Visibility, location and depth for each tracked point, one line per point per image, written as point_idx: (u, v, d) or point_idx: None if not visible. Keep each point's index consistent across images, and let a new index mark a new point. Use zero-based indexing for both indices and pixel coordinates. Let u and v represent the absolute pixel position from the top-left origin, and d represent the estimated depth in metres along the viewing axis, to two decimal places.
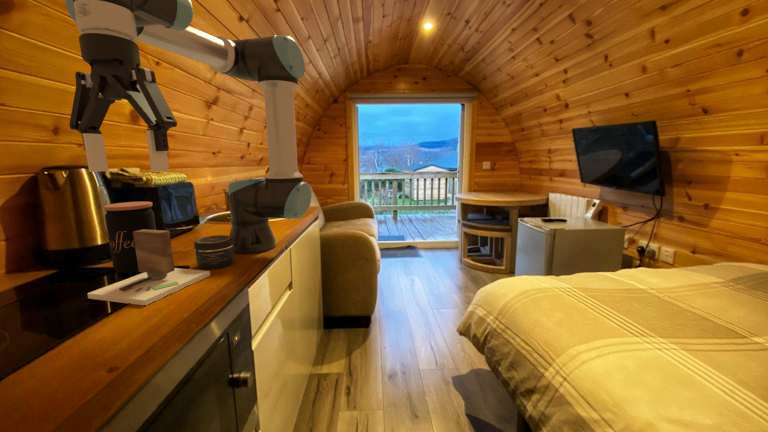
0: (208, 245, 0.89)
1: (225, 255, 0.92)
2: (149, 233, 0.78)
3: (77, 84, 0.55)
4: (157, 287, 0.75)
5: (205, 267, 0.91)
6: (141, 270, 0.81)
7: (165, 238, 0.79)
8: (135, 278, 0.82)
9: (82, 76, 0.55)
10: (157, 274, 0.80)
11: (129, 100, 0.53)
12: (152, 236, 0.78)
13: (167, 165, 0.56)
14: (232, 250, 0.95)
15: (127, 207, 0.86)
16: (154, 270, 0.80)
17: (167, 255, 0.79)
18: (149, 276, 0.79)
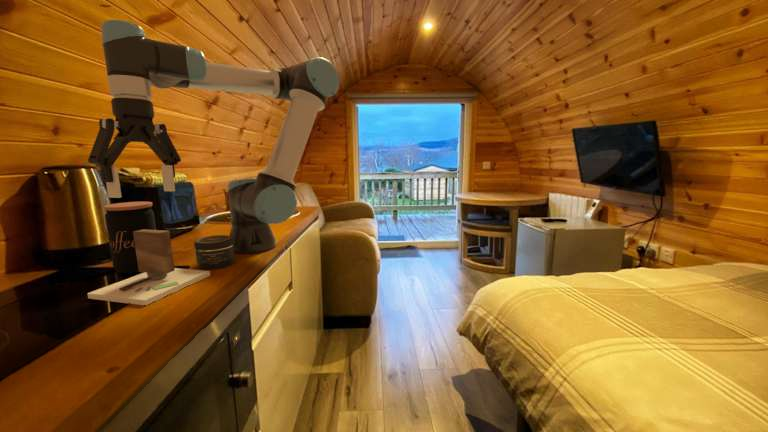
0: (209, 245, 0.89)
1: (225, 255, 0.92)
2: (149, 233, 0.78)
3: None
4: (157, 287, 0.75)
5: (205, 267, 0.91)
6: (141, 270, 0.81)
7: (165, 238, 0.79)
8: (135, 278, 0.82)
9: None
10: (157, 274, 0.80)
11: None
12: (152, 236, 0.78)
13: (116, 193, 0.70)
14: (232, 250, 0.95)
15: (127, 207, 0.86)
16: (154, 270, 0.80)
17: (167, 255, 0.79)
18: (149, 276, 0.79)
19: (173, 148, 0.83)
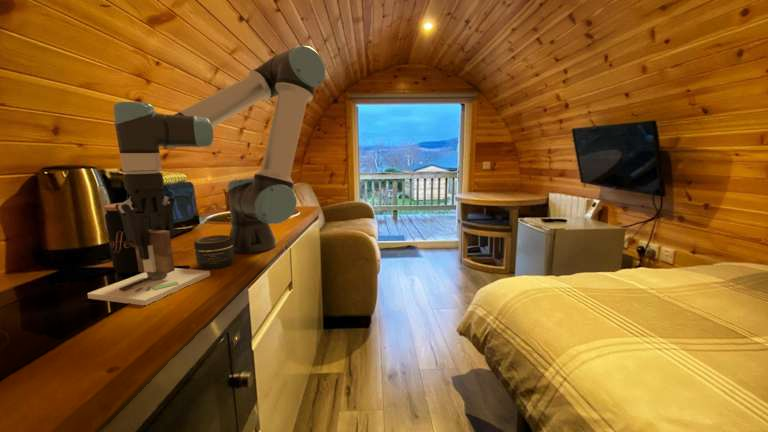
0: (209, 245, 0.89)
1: (225, 255, 0.92)
2: (149, 233, 0.78)
3: None
4: (157, 287, 0.75)
5: (205, 267, 0.91)
6: (141, 270, 0.81)
7: (165, 238, 0.79)
8: (135, 278, 0.82)
9: None
10: (157, 274, 0.80)
11: None
12: (152, 236, 0.78)
13: (152, 268, 0.79)
14: (232, 250, 0.95)
15: None
16: None
17: (167, 255, 0.79)
18: (149, 276, 0.79)
19: (171, 221, 0.84)
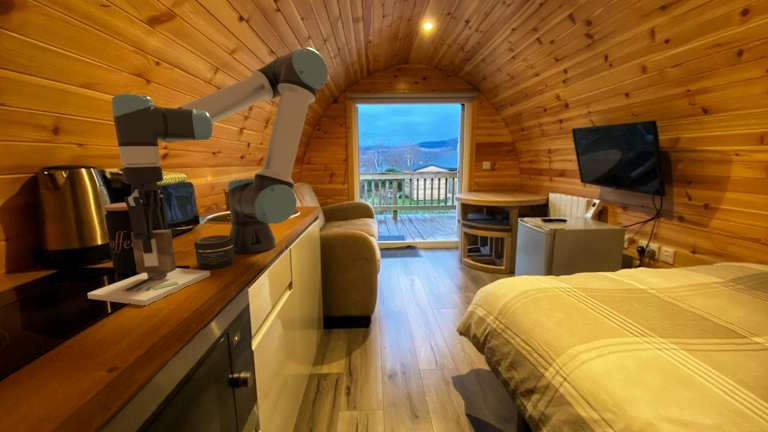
0: (209, 245, 0.89)
1: (225, 255, 0.92)
2: None
3: None
4: (157, 287, 0.75)
5: (205, 267, 0.91)
6: (140, 271, 0.80)
7: (168, 237, 0.80)
8: (135, 278, 0.82)
9: None
10: (159, 274, 0.80)
11: None
12: (155, 236, 0.78)
13: (156, 261, 0.79)
14: (232, 250, 0.95)
15: (127, 207, 0.86)
16: (156, 270, 0.80)
17: (170, 254, 0.80)
18: (150, 276, 0.79)
19: (165, 215, 0.84)
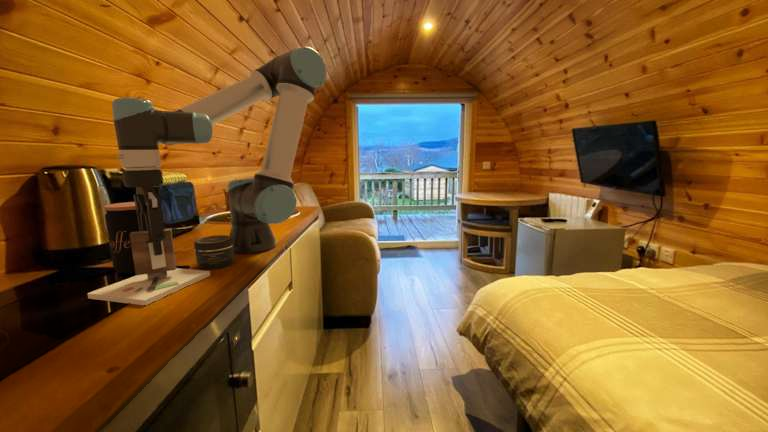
0: (208, 245, 0.89)
1: (225, 255, 0.92)
2: None
3: (135, 203, 0.81)
4: (157, 287, 0.75)
5: (205, 267, 0.91)
6: (140, 273, 0.79)
7: (171, 235, 0.82)
8: (135, 278, 0.82)
9: None
10: (163, 272, 0.81)
11: (144, 215, 0.77)
12: None
13: (164, 262, 0.80)
14: (232, 250, 0.95)
15: (127, 207, 0.86)
16: (160, 269, 0.80)
17: (173, 252, 0.82)
18: (155, 276, 0.80)
19: None
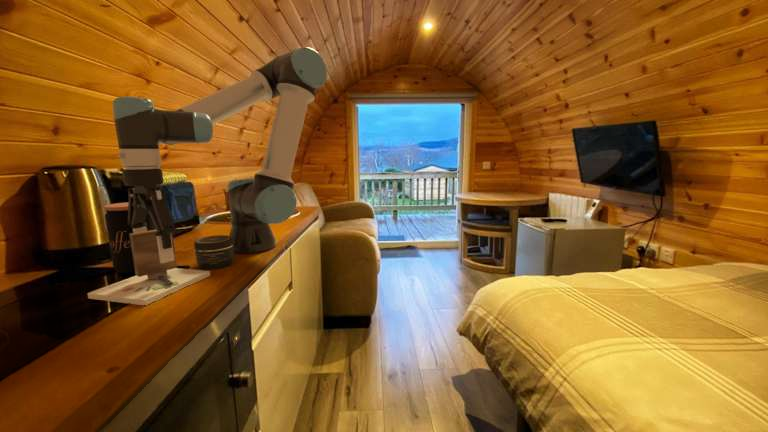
0: (209, 245, 0.89)
1: (225, 255, 0.92)
2: None
3: (129, 196, 0.81)
4: (157, 287, 0.75)
5: (205, 267, 0.91)
6: (143, 274, 0.78)
7: None
8: (135, 278, 0.82)
9: (131, 191, 0.80)
10: (165, 271, 0.82)
11: (149, 212, 0.75)
12: None
13: (172, 256, 0.78)
14: (232, 250, 0.95)
15: (127, 207, 0.86)
16: (162, 268, 0.81)
17: None
18: (159, 275, 0.80)
19: None
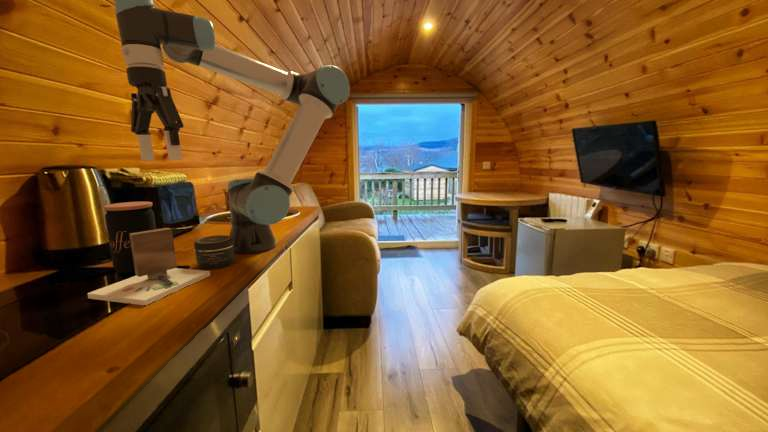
0: (209, 245, 0.89)
1: (225, 255, 0.92)
2: (157, 232, 0.79)
3: (132, 101, 0.82)
4: (157, 287, 0.75)
5: (205, 267, 0.91)
6: (143, 274, 0.78)
7: None
8: (135, 278, 0.82)
9: (134, 96, 0.81)
10: (165, 271, 0.82)
11: (155, 110, 0.77)
12: (162, 234, 0.80)
13: (181, 155, 0.79)
14: (232, 250, 0.95)
15: (127, 207, 0.86)
16: (162, 268, 0.81)
17: None
18: (159, 275, 0.80)
19: None
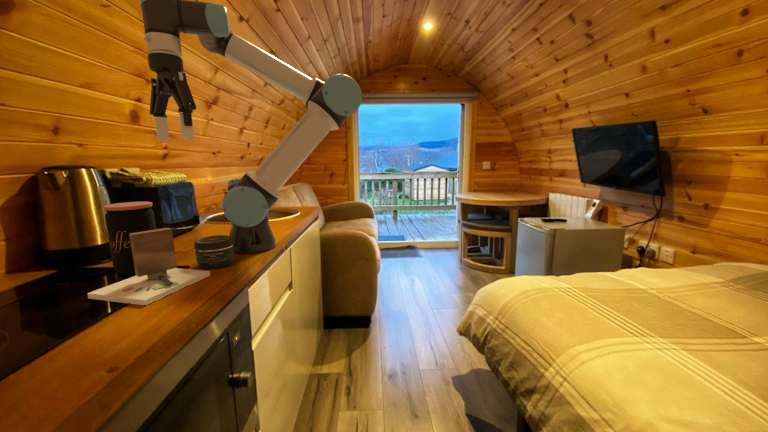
0: (209, 245, 0.89)
1: (225, 255, 0.92)
2: (157, 232, 0.79)
3: (152, 86, 0.89)
4: (157, 287, 0.75)
5: (205, 267, 0.91)
6: (143, 274, 0.78)
7: None
8: (135, 278, 0.82)
9: (154, 80, 0.88)
10: (165, 271, 0.82)
11: (171, 93, 0.83)
12: (162, 234, 0.80)
13: (193, 135, 0.85)
14: (232, 250, 0.95)
15: (127, 207, 0.86)
16: (162, 268, 0.81)
17: None
18: (159, 275, 0.80)
19: None
